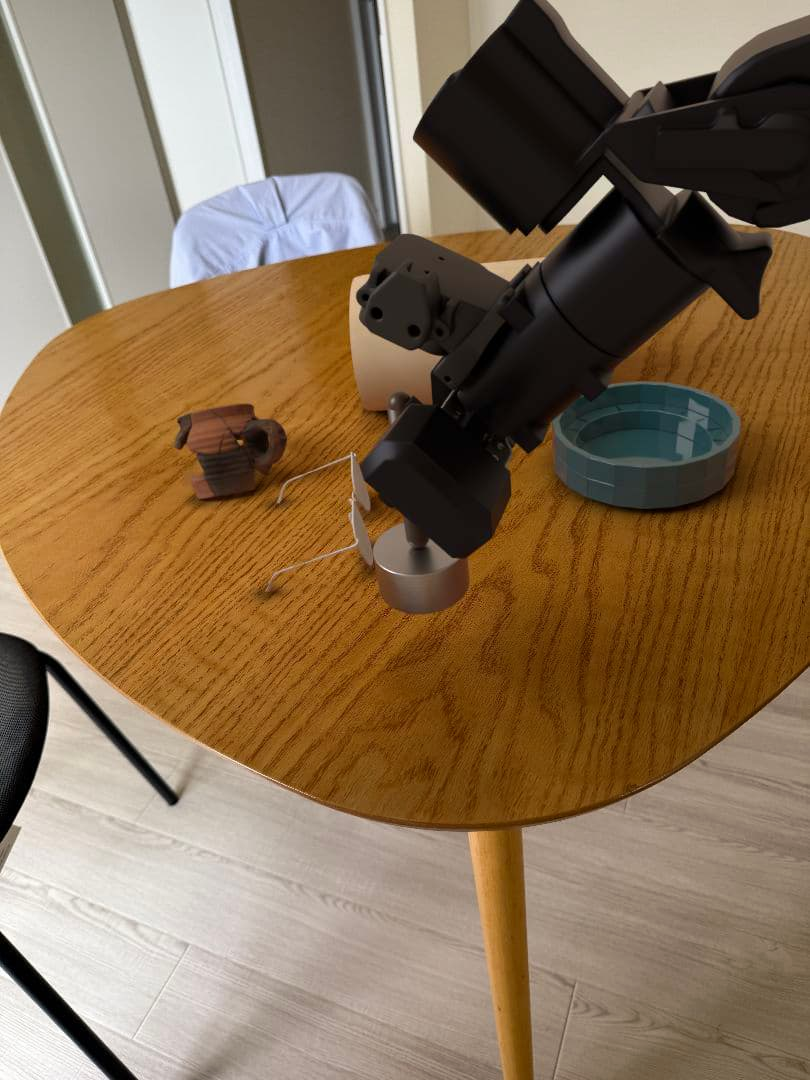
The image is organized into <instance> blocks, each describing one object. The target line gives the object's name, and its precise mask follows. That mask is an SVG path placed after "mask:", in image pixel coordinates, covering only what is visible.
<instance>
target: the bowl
mask: <svg viewBox="0 0 810 1080" xmlns="http://www.w3.org/2000/svg"><path fill="white" fill-rule="evenodd" d="M741 424H742V420H741V418H740V416H739V414H738V413H737V412H736V410H735V408H734V407H733V406H732V405H730V404H729V403H727V401H724V400H723V399H722V398H720V397H719V396H717V395H716V394H713V393H710V392H707V391H705V390H702V389H699V388H696V387H694V386H688V385H683V384H678V383H672V382H662V381H645V380H643V381H628V382H616V383H611V384H609V386H608V389H606V390H605V391H604V392H603V393H602V394H600V395H599V396H598V397H597V398H596V399H594V400H593V401H592V402H590V401H589V400H588V399H586V398H585V397H584V396H583V395H582V396H581V397H580V398H579V399H578V400H577V401H575V402H574V403H573V404H572V405H571V406H569V407H568V408H567V409H566V410H565V411H564V412H562V413H561V414H560V415H559V416H558V417H556V418H555V419H554V420H553V421H552V422H551V426H552V427H551V428H552V429H551V430H552V431H551V433H552V434H551V435H552V437H551V438H552V439H551V440H552V441H551V442H552V443H551V444H552V446H551V447H552V449H551V450H552V453H551V454H552V455H551V456H552V464H553V469H554V473H555V474H556V476H557V477H558V478H559V479H560V480H561V482H562V483H563V484H564V485H565V486H566V487H567V488H568V489H571V490H572V491H574V492H576V493H578V494H580V495H581V496H583V497H585V498H587V499H590V500H593V501H597V502H601V503H603V504H606V505H607V504H608V505H611V506H614V507H623V508H631V509H632V508H633V509H642V510H649V509H651V510H652V509H662V508H663V509H664V508H676V507H680V506H684V505H687V504H692V503H696V502H699V501H702V500H705V499H706V498H709V497H710V496H712V495H714V494H716V493H717V492H719V491H721V490H722V489H724V488H725V486H726V485H727V484H728V483H729V481H730V480H731V479H732V477H733V476H734V475H735V469H736V462H737V455H738V449H739V444H740V443H739V442H740V436H741V427H742V426H741Z"/></svg>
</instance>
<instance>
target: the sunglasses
mask: <svg viewBox="0 0 810 1080" xmlns="http://www.w3.org/2000/svg"><path fill="white" fill-rule="evenodd" d="M348 459H350V471H351V472H350V473H351V483H352V487H353V490H352V491H351V498H349V499H348V500H347V501H348V503H349V504H350V506H351V512H349V514H348V519H349V522H350V523H351V526H352V532H353V536H354V540H355V543H354V544H352V545H349V546H347V547H344V548H342V549H339V550H336V551H334V552H330V553H328V554H325V555H323V556H319V557H317V558H314V559H311V560H308V561H305V562H303V563H300V564H297V565H293V566H290V567H287V568H284V569H281V570H279V571H276V572H275V573H274V574H273V575H272V577H271V578H270V580H269V583H268V586H267V588H266V590H265V592H267V593H268V592H270V591H271V589H272V585H273V582H274V579H275V578H276V577H277V576H278V575H279V574H282V573H284V572H288V571H291V570H294V569H296V568H298V567H300V566H303V565H306V564H310V563H314V562H316V561H319V560H323V559H326V558H328V557H332V556H335V555H338V554H342V553H345V552H348V551H350V550H354V549H356V548H358V550H359V552H360V554H361V557H362V558H363V559H364V562H365V563H366V564H367V566H369V567H372V566H373V565H374V564H373V563H374V558H373V548H372V544H371V540H370V538H369V534H368V531H367V527H366V525H365V522H364V519H363V516H362V514H361V512H360V509H359V507H358V505H357V504H359V505H360V506H361V507H362V508H363V509H364V511H366V512H370V510H371V500H370V496H369V492H368V488H367V485H366V482H365V481H364V479H363V476H362V472H361V469H360V466H359V465H360V464H359V462H358V460H357V459H358V456H357V453H354V452H353V451H350V454H349V455H347V456H345V457H342V458H340V459H337V460H335V461H332V462H330V463H327V464H325V465H323V466H321V467H318V468H316V469H313V470H311V471H309V472H306V473H304V474H300V475H297V476H295V477H293V478H291V479H288V480H287V481H286V482H285V483H284V484H283V486H282V487H281V490H280V493H279V496H278V499H277V501H276V504H281V501H282V498H283V494H284V490H285V488H286V486H287V485H288V484H289V483H291V482H294V481H295V480H297V479H300V478H303V477H304V476H305V475H306V476H307V475H308V474H311V473H314V472H317V471H320V470H321V469H324V468H327V467H329V466H332V465H335V464H338V463H340V462H343V461H346V460H348ZM355 497H356V498H357V499H355Z"/></svg>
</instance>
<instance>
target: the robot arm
mask: <svg viewBox="0 0 810 1080" xmlns="http://www.w3.org/2000/svg"><path fill="white" fill-rule="evenodd" d="M412 141H413V142H414V144H416V145H417V146H418V147H419V148H420V149H421V150H422V151H423V152H424V153H425V154H426V155H427V156H428V157H429V158H430V159H431V160H432V161H433V162H434V163H435V164H436V165H437V166H438V167H439V168H441V170H443V171H444V173H446V175H447V176H449V178H450V179H452V180H453V181H454V182H455V183H456V184H457V185H458V186H459V187H460V188H461V189H462V190H463V191H464V192H465V193H466V194H467V196H469V197H470V198H471V199H472V200H473V201H474V202H475V203H476V204H477V205H478V206H479V207H480V209H482V210H483V211H484V212H485V213H486V214H487V215H488V216H489V218H491V219H492V220H493V221H494V222H495V223H496V224H497V225H498V226H499V227H500V228H501V229H502V230H503V231H504V232H506V233H507V235H508V236H512V235H513V233H514V232H516V230H518V231H519V232H520V233H521V234H522V235H523V236H524V237H525V238H527V237H528V236H529V235H530V234H531V233H532V232H533V231H534V230H535V228H538V229H539V231H540V232H542V233H543V234H544V235H545V236H547V235H548V234H549V233H551V232H552V231H553V230H554V229H555V228H556V227H557V226H558V225H559V224H560V223H561V222H562V221H563V220H564V218H565V217H566V216H567V215H568V214H569V213H570V212H571V211H572V210H573V209H574V208H575V206H577V205H578V204H579V202H580V201H581V200H582V199H583V198H584V197H585V196H586V195H587V194H588V192H589V191H590V190H591V189H592V188H593V187H594V186H595V184H596V183H597V182H598V181H599V180H600V179H601V178H602V177H604V178H605V179H606V180H607V181H608V182H609V183H610V184H611V185H612V187H611V188H610V190H609V191H607V193H606V194H605V195H604V196H603V197H601V199H600V200H599V201H598V202H597V203H596V204H595V205H594V206H593V207H592V208H591V209H590V210H589V212H588V213H587V214H586V215H585V216H583V218H582V219H581V220H580V221H579V222H578V223H577V224H576V225H575V226H574V227H573V228H572V229H571V230H570V232H569V233H568V234H567V235H566V236H565V237H564V238H563V239H562V240H561V241H560V242H559V243H558V244H557V245H556V246H555V247H554V248H553V249H552V251H551V252H550V253H548V255H547V256H545V257H546V258H545V259H544V260H543V261H542V262H541V263H540V262H539V261H537V262H536V264H535V265H534V266H533V267H531V266H530V265H529V264H528V263H527V264H526V265H525V266H524V267H523V268H522V269H521V270H520V271H519V272H518V273H517V274H516V276H515V277H514V278H513V279H512V280H511V281H510V282H509V281H507V280H505V279H504V278H502V277H500V276H498V275H496V274H494V273H493V272H490V271H489V270H487V269H486V268H485V267H484V266H483V265H481V264H480V262H478V261H475V260H473V259H471V258H469V257H468V256H464V255H462V254H460V253H458V252H456V251H454V250H452V249H450V248H448V247H445V246H443V245H441V244H439V243H436V242H434V241H432V240H430V239H429V238H427V237H424V236H421V235H419V234H414V233H401V234H399V235H397V236H396V237H395V238H394V239H393V240H391V242H389V243H388V244H387V245H386V246H385V247H384V248H382V249H381V250H380V251H379V252H377V253H376V255H375V257H374V260H373V264H372V268H371V269H370V272H369V274H370V276H369V279H368V280H367V282H366V283H365V284H364V285H363V286H362V287H361V288H359V289H358V291H357V292H356V300H357V302H358V304H359V305H360V306H361V310H360V313H359V320H360V322H361V323H362V324H363V325H364V326H365V327H366V328H367V329H368V330H369V331H370V332H371V333H373V334H375V335H377V336H379V337H381V338H383V339H385V340H387V341H390V342H392V343H394V344H396V345H398V346H400V347H402V348H404V349H406V350H409V351H413V350H416V349H420V350H422V351H425V352H427V353H429V354H432V355H436V356H442V358H441V359H440V360H439V362H438V363H437V364H436V366H435V367H434V368H433V370H432V371H431V374H430V376H431V390H432V405H429V404H423V403H422V402H420V401H419V400H418V399H417V398H416V397H415V396H414V395H413V396H412V397H411V399H410V400H409V401H408V403H407V404H406V405H405V407H404V408H403V409H402V411H401V412H400V413H399V415H398V416H397V418H396V420H395V421H394V422H393V423H392V424H391V425H390V424H389V426H388V428H387V429H386V430H385V431H384V432H383V433H382V435H380V437H379V438H378V439H377V440H376V442H375V443H374V445H373V446H372V448H371V449H370V450H369V451H368V453H367V454H366V455H365V456H364V458H363V459H362V461H361V462H360V463H359V464H358V465H359V468H360V470H361V473H362V476H363V479H364V482H365V484H367V485H368V486H369V487H371V488H372V489H373V491H375V492H376V493H377V498H378V499H379V500H380V501H381V502H382V503H383V504H384V505H385V506H386V507H387V508H389V509H395V510H397V511H398V513H400V514H401V515H402V516H403V515H404V516H405V517H406V518H407V519H408V520H409V521H410V522H412V523H413V524H414V525H415V526H416V527H417V528H418V529H420V530H421V531H422V532H423V533H424V534H425V535H426V536H427V537H429V538H430V539H431V540H432V541H433V542H434V543H435V544H437V545H438V546H439V547H440V548H441V549H442V550H443V551H445V552H446V553H447V554H448V555H449V556H450V557H451V558H459V559H466V558H467V557H468V558H469V556H471V555H472V554H474V553H475V552H476V551H478V550H479V549H480V548H482V547H483V546H484V545H486V544H487V543H488V542H489V541H491V540H492V539H493V538H494V536H495V533H496V531H497V529H498V527H499V524H500V523H501V520H502V518H503V516H504V513H505V511H506V509H507V507H508V504H509V502H510V500H511V498H512V478H511V477H512V475H511V474H512V473H511V471H510V469H508V466H509V465H510V462H511V460H512V458H513V455H514V453H513V448H515V446H516V445H517V446H518V447H519V448H520V449H522V451H524V452H525V453H526V455H529V454H531V452H533V451H534V450H536V449H537V447H539V446H540V445H542V444H543V442H544V441H545V438H546V436H547V433H548V431H549V429H550V426H551V425H552V421H553V420H554V419H555V418H556V417H558V416H559V415H560V414H561V413H562V412H564V411H565V410H566V409H567V408H568V407H569V406H571V405H572V404H573V403H574V402H575V401H577V400H578V399H579V398H580V397H581V396H582V395H583V396H584V397H585V398H586V399H588V400H589V401H590V402H592V401H593V400H594V399H596V398H597V397H598V396H599V395H600V394H602V393H603V392H604V391H605V390H606V389H608V386H609V385H610V383H611V380H612V377H613V374H614V371H615V369H616V368H617V367H618V366H620V365H621V364H622V363H623V362H624V361H625V360H626V359H628V358H629V357H630V356H631V355H632V354H634V353H635V352H636V351H638V350H639V349H640V348H641V347H643V345H644V344H645V343H647V342H648V341H649V340H650V339H651V338H653V337H654V336H655V335H656V334H657V333H659V332H660V331H661V330H662V329H663V328H664V327H666V326H667V325H668V324H669V323H670V322H672V321H673V320H674V319H675V318H677V317H678V315H680V314H681V313H682V312H683V311H685V310H686V309H687V308H688V307H689V306H691V305H692V304H693V303H694V302H695V301H697V300H698V298H700V297H701V296H703V294H705V293H706V292H707V291H708V290H710V289H711V290H713V291H714V292H715V293H716V294H717V295H718V296H719V298H721V299H722V300H723V302H725V304H726V305H727V306H729V308H731V310H732V311H733V312H734V313H735V314H736V315H737V316H738V317H739V318H740V319H742V320H745V321H751V320H753V319H756V318H757V316H758V315H759V313H760V309H761V289H762V282H763V278H764V276H765V272H766V270H767V267H768V264H769V262H770V260H771V258H772V257H773V254H774V248H773V247H774V246H773V243H774V242H773V239H774V238H773V235H772V233H771V232H769V231H760V232H743V231H739V230H735V229H734V228H733V227H732V226H731V224H729V222H728V221H727V220H726V218H724V217H723V216H722V215H721V214H720V212H718V210H716V209H715V208H714V207H713V205H712V204H711V203H710V202H712V203H713V204H714V205H715V206H716V207H717V208H719V209H720V210H721V211H722V212H723V213H724V214H726V216H728V217H731V218H733V219H736V220H739V221H741V222H744V223H747V224H749V225H752V226H755V227H756V228H759V229H780V228H784V227H788V226H792V225H796V224H799V223H803V222H807V221H809V220H810V14H808V15H805V16H802V17H798V18H796V19H793V20H789V21H788V22H785V23H782V24H779V25H777V26H774V27H771V28H769V29H766V30H765V31H762V32H760V33H758V34H756V35H755V36H754V37H753V38H751V39H749V40H748V41H747V42H745V43H744V44H742V45H741V46H740V47H738V49H737V48H736V50H735V51H733V52H732V53H731V55H730V56H729V57H728V58H727V59H726V60H725V62H724V63H723V64H722V65H721V67H720V69H719V70H716V71H712V72H708V73H704V74H699V75H696V76H692V77H686V78H682V79H678V80H674V81H670V82H666V83H663V82H662V80H658V81H657V82H656V84H655V85H653V86H650V87H645V88H642V89H638V90H635V91H634V92H633V93H631V95H630V96H629V95H628V93H626V92H625V91H624V90H623V88H622V87H620V86H619V84H618V83H617V82H616V81H615V80H614V79H613V78H612V77H611V76H610V75H609V73H607V71H606V70H605V69H604V68H603V67H602V66H601V65H600V64H599V63H598V62H597V60H595V59H594V57H593V56H591V54H590V53H589V52H588V51H587V50H586V49H585V48H584V47H583V46H582V45H581V44H580V42H578V41H577V39H576V38H575V37H574V36H573V34H572V33H571V31H570V30H569V28H568V26H567V24H566V22H565V20H564V18H563V17H562V15H561V14H560V13H559V12H558V10H557V9H556V8H555V7H554V6H553V5H552V4H551V3H550V2H549V1H548V0H518V1H517V3H516V4H515V6H513V8H512V10H510V12H509V14H508V15H507V17H506V18H505V19H504V21H503V22H502V23H501V24H500V25H499V26H498V27H497V28H496V29H495V30H494V31H493V32H492V33H491V34H490V35H489V37H487V39H486V40H485V41H484V42H483V43H482V44H481V45H480V46H479V48H478V49H477V50H476V51H475V52H474V54H473V55H472V56H471V57H470V58H469V60H468V61H467V62H466V63H465V64H464V65H463V67H462V68H460V69H458V70H456V71H454V72H452V73H451V74H450V75H449V76H448V78H446V80H445V82H444V83H443V84H442V85H441V87H440V88H439V90H438V91H437V93H436V94H435V96H434V97H433V99H432V100H431V102H430V103H429V104H428V106H427V107H426V109H425V111H424V112H423V115H422V116H421V118H420V120H419V121H418V123H417V125H416V127H415V129H414V131H413V135H412ZM667 187H668V188H674V189H682V190H680V191H678V192H677V193H676V194H674V193H673V192H671V190H669V189H668V188H667ZM701 193H704V194H706V195H707V197H708V199H709V201H710V202H709V201H708V200H707V199H706V198H705V197H704V196H703V195H702V194H701Z"/></svg>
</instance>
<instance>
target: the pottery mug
mask: <svg viewBox="0 0 810 1080" xmlns="http://www.w3.org/2000/svg"><path fill="white" fill-rule="evenodd" d="M176 423H177V424H178V425H179V430H178V433H176V435H175V438H174V444H173V447H174V448H175V449H176V450H178V451H181V450H183V448H184V447H185V445H186V446H187V448H188V450H189V451H190V452H192V453H194V454H195V455H196V458H197V461H198V463H199V465H200V467H201V469H202V471H203V472H202V473H201V474H197V475H194V476H191V477H190V478H189V482H190V484H191V485H190V486H191V487H192V488H193V491H194V493H195V495H196V498H197V499H198V500H205V499H210V498H215V497H220V496H233V495H236V494H237V495H238V494H242V493H247V492H251V491H255V490H256V489H257V487H256V481H255V478H256V474H255V472H256V471H257V472H258V473H259V474H261V475H264V476H266V475H268V474H269V473H270V472H271V470H272V467H273V465H274V464H277V463H279V461H280V460H281V459H282V458H283V456H284V454H285V451H286V447H287V441H288V436H287V433H286V431H285V429H284V427H283V426H282V424H281V423H279V422H278V421H277V420H275V419H273V418H259V417H258V416H256V413H255V406H254V405H253V404H251V403H248V402H246V403H242V402H241V403H232V404H224V405H218V406H213V407H210V408H204V409H200V410H196V411H193V412H189V413H186V414H184V415H181V416H180V417H177V419H176ZM238 441H242V442H243V443H242V444H240V443H239V442H238Z"/></svg>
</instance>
